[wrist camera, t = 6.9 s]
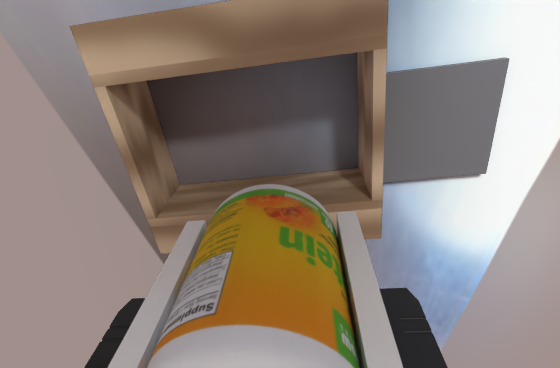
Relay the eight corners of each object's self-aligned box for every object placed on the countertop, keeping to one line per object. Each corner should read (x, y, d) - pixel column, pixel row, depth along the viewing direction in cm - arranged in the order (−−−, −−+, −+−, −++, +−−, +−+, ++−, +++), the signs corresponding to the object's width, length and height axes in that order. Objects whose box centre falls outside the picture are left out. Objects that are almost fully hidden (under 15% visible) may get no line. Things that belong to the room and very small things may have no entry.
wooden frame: (118, 24, 25) (69, 26, 19) (367, -15, 23) (388, -25, 17) (182, 216, 33) (160, 253, 28) (367, 201, 31) (381, 238, 26)
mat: (376, 73, 25) (377, 75, 25) (504, 57, 24) (509, 58, 24) (374, 180, 30) (375, 183, 29) (482, 170, 29) (486, 173, 28)
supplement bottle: (361, 239, 13) (484, 660, 5) (271, 297, 15) (238, 666, 6) (274, 153, 11) (204, 562, 3) (185, 231, 13) (-17, 613, 5)
